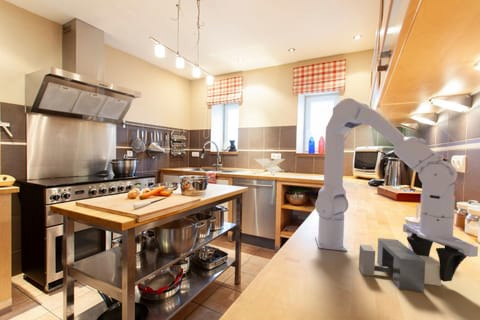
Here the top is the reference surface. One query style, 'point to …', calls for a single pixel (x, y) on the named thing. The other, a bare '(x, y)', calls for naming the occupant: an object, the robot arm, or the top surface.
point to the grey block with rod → (369, 267)
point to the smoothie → (413, 223)
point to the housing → (402, 264)
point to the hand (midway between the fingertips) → (433, 273)
